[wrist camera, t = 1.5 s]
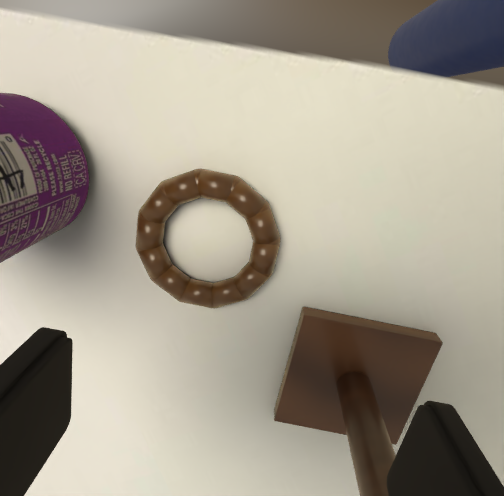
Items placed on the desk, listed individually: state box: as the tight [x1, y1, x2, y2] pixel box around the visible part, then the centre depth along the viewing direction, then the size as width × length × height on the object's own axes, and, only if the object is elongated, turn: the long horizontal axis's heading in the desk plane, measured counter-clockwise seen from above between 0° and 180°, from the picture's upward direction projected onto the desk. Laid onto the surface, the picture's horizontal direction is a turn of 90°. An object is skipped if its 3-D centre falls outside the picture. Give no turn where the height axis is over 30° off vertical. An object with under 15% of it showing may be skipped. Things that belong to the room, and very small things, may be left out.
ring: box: [136, 169, 280, 308], centre depth 20 cm, size 8×8×1 cm
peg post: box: [274, 307, 442, 496], centre depth 17 cm, size 8×8×13 cm
